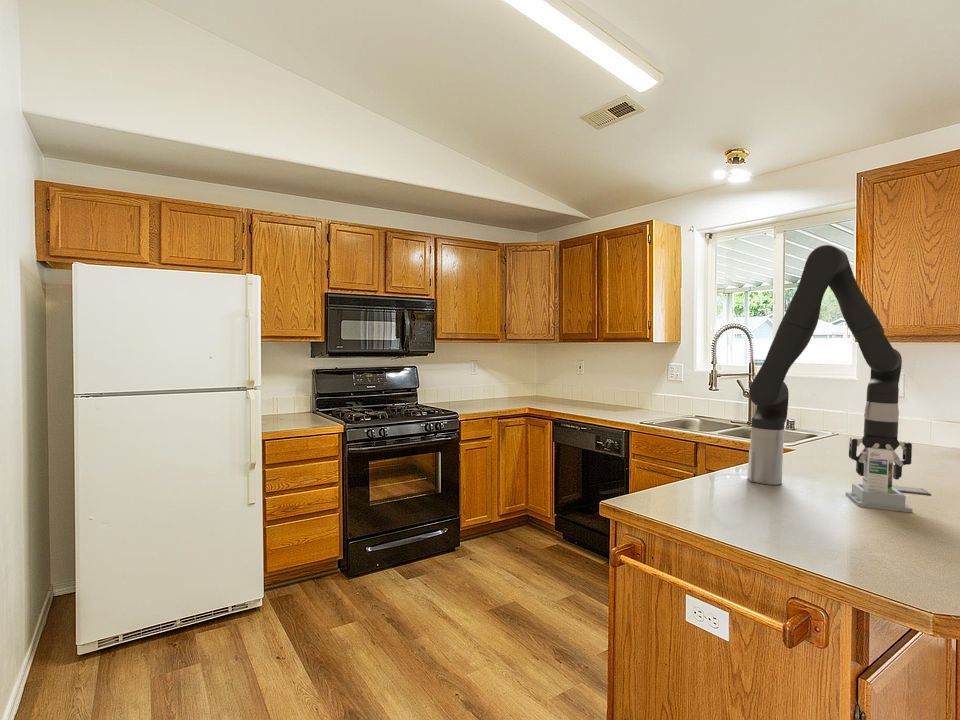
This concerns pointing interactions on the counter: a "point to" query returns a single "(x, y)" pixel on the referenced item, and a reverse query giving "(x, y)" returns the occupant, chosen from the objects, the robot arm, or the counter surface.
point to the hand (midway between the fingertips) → (878, 477)
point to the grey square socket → (878, 499)
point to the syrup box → (878, 470)
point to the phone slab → (911, 490)
